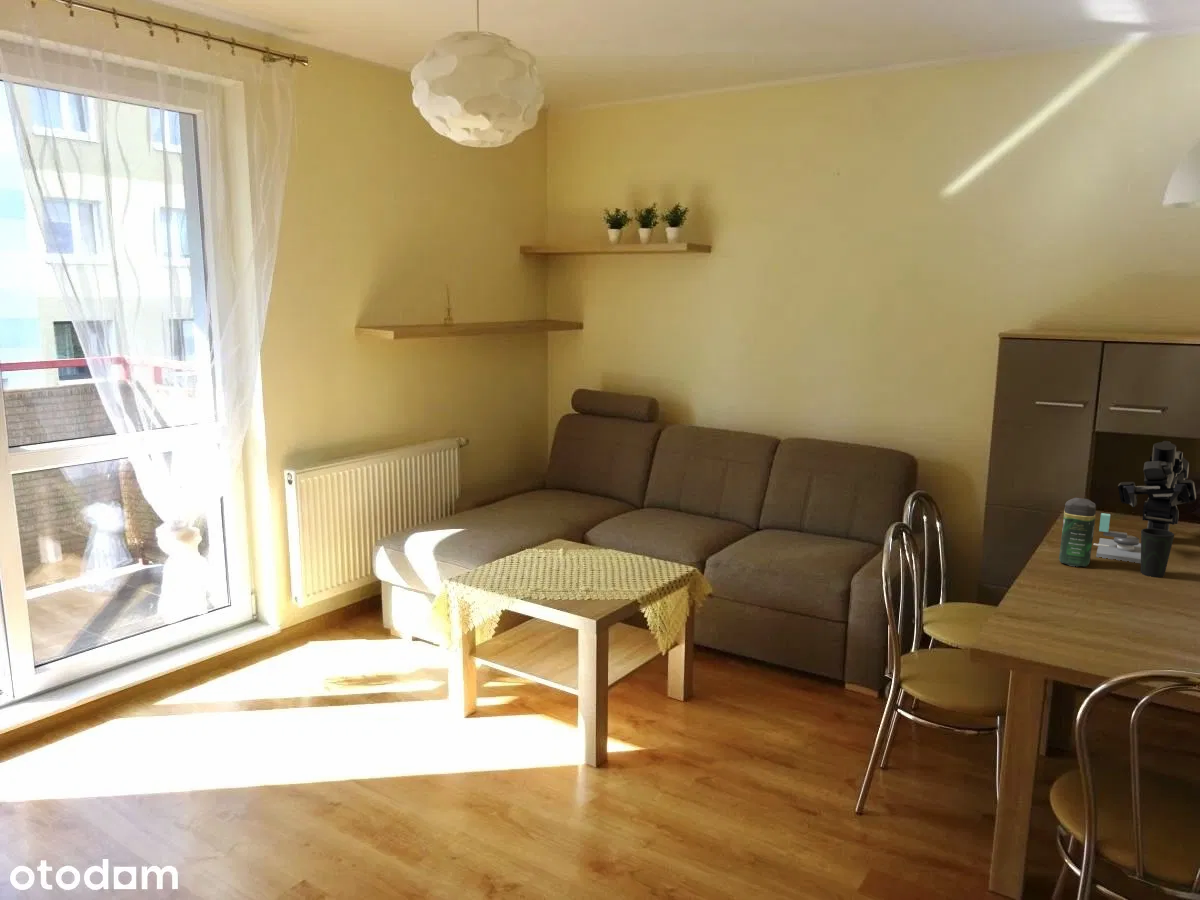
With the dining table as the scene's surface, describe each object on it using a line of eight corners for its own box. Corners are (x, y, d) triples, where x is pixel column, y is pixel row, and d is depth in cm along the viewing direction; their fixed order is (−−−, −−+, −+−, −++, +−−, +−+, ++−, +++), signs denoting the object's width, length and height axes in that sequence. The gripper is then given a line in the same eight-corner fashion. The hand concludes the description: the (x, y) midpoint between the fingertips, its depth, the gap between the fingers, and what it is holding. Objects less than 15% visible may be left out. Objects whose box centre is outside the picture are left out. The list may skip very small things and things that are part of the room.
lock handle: (1098, 535, 266) (1101, 511, 264) (1138, 541, 260) (1141, 516, 259) (1097, 541, 260) (1100, 516, 259) (1138, 546, 255) (1141, 521, 254)
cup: (1167, 580, 236) (1172, 537, 234) (1134, 574, 241) (1139, 532, 238) (1170, 573, 242) (1175, 531, 240) (1138, 567, 247) (1143, 526, 244)
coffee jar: (1089, 569, 245) (1096, 505, 242) (1057, 564, 249) (1064, 501, 246) (1090, 560, 253) (1097, 497, 250) (1060, 555, 257) (1066, 494, 254)
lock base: (1094, 541, 272) (1095, 531, 271) (1152, 548, 264) (1153, 539, 263) (1091, 556, 257) (1092, 546, 256) (1152, 565, 249) (1153, 555, 248)
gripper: (1120, 457, 265) (1109, 481, 254) (1193, 454, 252) (1186, 478, 241) (1126, 490, 268) (1116, 515, 257) (1199, 488, 255) (1192, 514, 244)
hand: (1151, 505), depth 250 cm, fingers open, 9 cm apart
